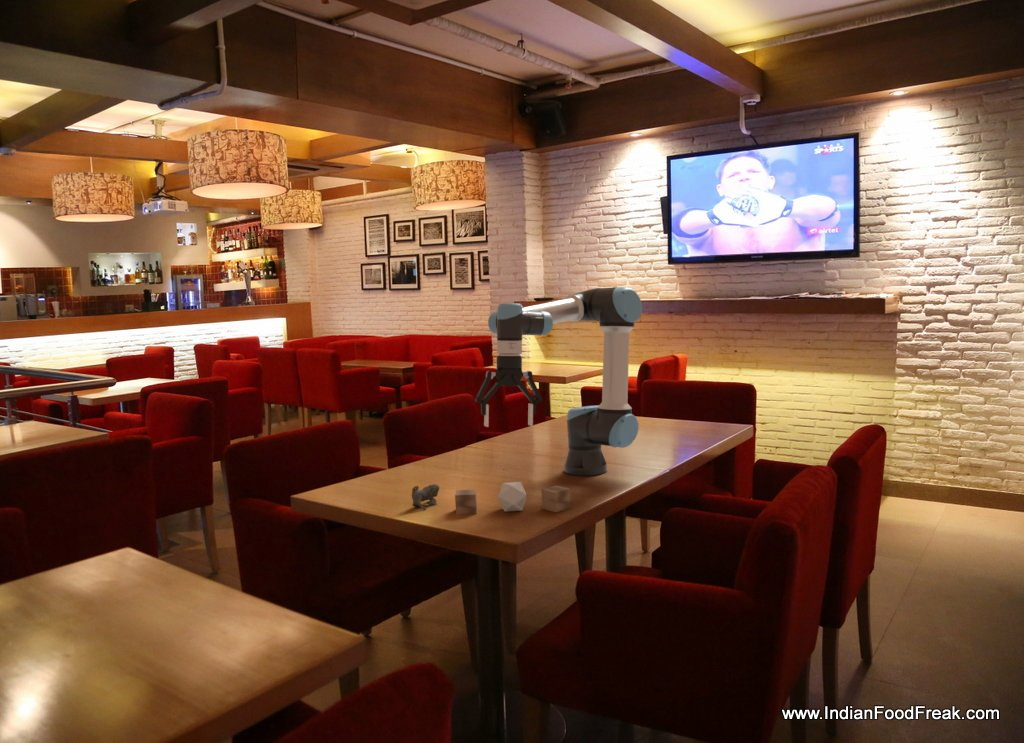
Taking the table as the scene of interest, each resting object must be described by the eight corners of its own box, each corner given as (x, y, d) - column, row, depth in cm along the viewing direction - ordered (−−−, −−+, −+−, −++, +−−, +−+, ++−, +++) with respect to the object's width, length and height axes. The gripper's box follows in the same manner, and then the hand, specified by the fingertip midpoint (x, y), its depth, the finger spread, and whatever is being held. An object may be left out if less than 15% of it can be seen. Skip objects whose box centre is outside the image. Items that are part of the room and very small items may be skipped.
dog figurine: (421, 511, 238) (419, 487, 237) (407, 509, 241) (405, 485, 240) (446, 502, 247) (445, 479, 247) (432, 499, 251) (431, 477, 250)
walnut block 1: (477, 508, 239) (476, 489, 238) (476, 514, 233) (475, 494, 232) (457, 509, 239) (456, 490, 238) (456, 515, 233) (455, 495, 232)
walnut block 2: (556, 504, 239) (556, 485, 238) (570, 508, 234) (570, 488, 234) (542, 508, 235) (541, 489, 234) (556, 512, 231) (555, 492, 230)
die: (517, 517, 229) (534, 487, 231) (490, 502, 230) (507, 472, 232) (517, 520, 237) (533, 490, 240) (491, 505, 238) (507, 476, 241)
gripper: (470, 355, 228) (470, 428, 229) (553, 355, 234) (552, 426, 235) (465, 354, 235) (465, 425, 236) (545, 354, 241) (544, 423, 242)
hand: (508, 425), depth 236 cm, fingers open, 13 cm apart
